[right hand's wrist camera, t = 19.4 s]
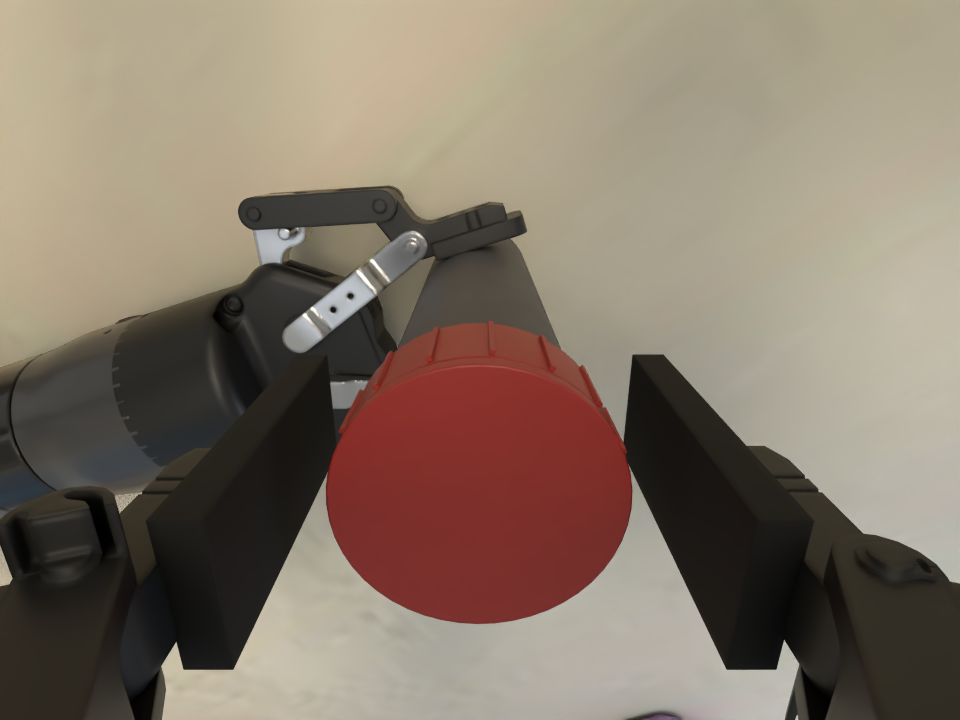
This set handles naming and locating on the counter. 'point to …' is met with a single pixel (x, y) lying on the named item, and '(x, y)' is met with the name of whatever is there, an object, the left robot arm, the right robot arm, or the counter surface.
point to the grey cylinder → (480, 293)
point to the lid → (479, 476)
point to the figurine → (661, 717)
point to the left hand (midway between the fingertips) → (539, 285)
